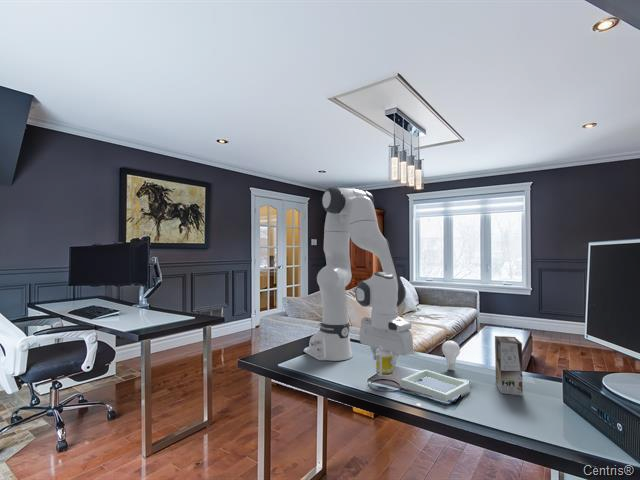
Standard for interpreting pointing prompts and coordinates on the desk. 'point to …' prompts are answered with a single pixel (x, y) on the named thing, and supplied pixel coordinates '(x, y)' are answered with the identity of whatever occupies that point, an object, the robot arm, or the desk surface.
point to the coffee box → (508, 365)
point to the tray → (409, 382)
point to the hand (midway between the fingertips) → (384, 362)
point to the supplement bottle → (383, 362)
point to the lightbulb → (450, 353)
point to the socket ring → (380, 389)
